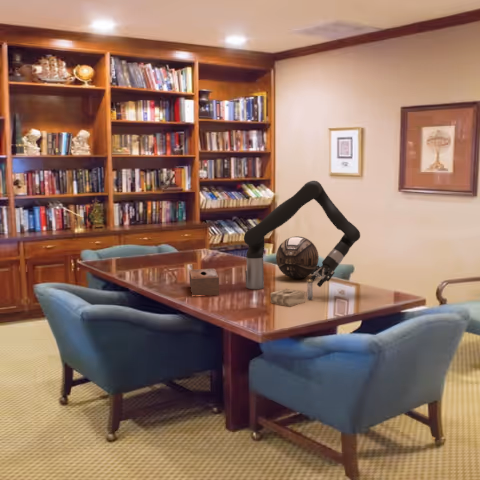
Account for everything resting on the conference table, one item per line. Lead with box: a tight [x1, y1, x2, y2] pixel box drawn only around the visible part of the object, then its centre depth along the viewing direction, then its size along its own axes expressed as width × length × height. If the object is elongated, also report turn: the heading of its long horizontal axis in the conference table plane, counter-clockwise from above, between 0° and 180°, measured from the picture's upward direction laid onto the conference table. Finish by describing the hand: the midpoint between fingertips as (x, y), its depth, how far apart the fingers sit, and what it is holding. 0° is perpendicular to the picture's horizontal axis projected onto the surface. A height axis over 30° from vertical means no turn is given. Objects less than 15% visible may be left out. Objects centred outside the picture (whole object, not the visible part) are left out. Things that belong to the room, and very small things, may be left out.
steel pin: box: [306, 278, 314, 301], centre depth 305 cm, size 3×3×10 cm
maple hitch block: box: [270, 288, 306, 307], centre depth 301 cm, size 12×12×5 cm
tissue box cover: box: [188, 268, 220, 296], centre depth 331 cm, size 26×14×10 cm, turn 7°
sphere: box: [275, 235, 320, 280], centre depth 357 cm, size 25×25×25 cm
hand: (313, 284), depth 306 cm, fingers open, 8 cm apart
